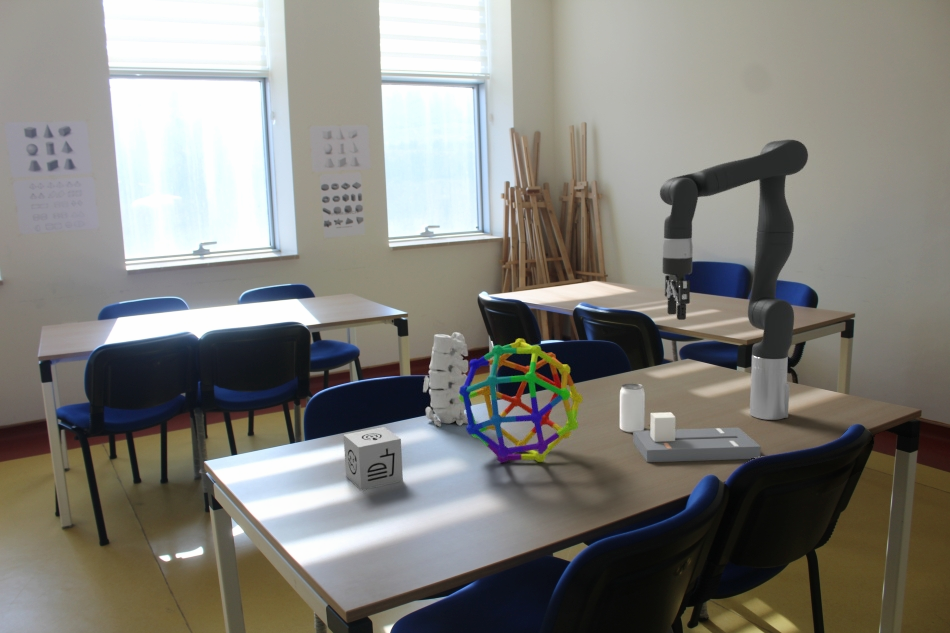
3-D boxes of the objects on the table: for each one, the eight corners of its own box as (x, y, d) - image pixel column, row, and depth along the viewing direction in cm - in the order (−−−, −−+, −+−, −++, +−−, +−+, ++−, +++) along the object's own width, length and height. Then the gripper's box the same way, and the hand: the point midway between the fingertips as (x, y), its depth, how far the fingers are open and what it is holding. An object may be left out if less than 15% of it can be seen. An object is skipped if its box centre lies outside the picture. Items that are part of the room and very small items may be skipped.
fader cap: (670, 435, 181) (670, 412, 180) (675, 441, 177) (675, 417, 176) (650, 436, 181) (650, 412, 180) (654, 441, 177) (654, 418, 176)
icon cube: (402, 480, 165) (400, 438, 164) (361, 490, 161) (358, 447, 159) (386, 467, 174) (384, 426, 172) (346, 475, 169) (343, 434, 168)
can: (644, 433, 192) (645, 389, 190) (619, 432, 194) (619, 389, 191) (643, 425, 198) (644, 383, 196) (619, 424, 200) (620, 382, 198)
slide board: (738, 438, 186) (738, 427, 186) (760, 458, 173) (760, 446, 172) (633, 442, 186) (633, 430, 186) (646, 462, 172) (647, 449, 172)
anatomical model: (478, 422, 205) (475, 335, 201) (438, 430, 200) (435, 340, 195) (461, 412, 215) (459, 329, 210) (423, 419, 209) (420, 334, 205)
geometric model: (609, 353, 181) (498, 315, 189) (587, 378, 153) (458, 331, 161) (573, 462, 187) (467, 420, 195) (546, 504, 159) (424, 453, 168)
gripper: (700, 257, 183) (699, 321, 186) (683, 252, 197) (682, 311, 200) (671, 258, 183) (669, 322, 186) (656, 253, 197) (655, 312, 200)
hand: (676, 316), depth 193 cm, fingers open, 8 cm apart
